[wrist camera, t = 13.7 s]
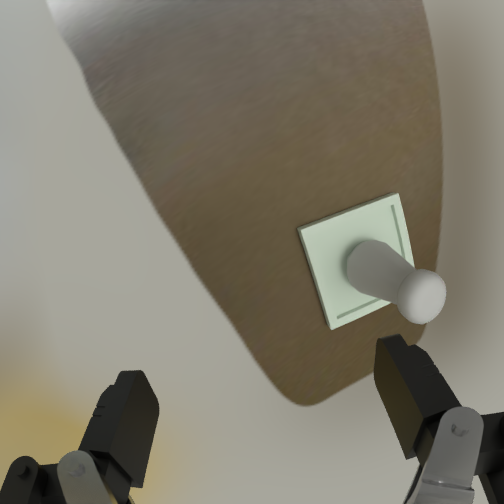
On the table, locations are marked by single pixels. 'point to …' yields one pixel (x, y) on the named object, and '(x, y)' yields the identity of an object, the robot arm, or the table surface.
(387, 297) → the salt shaker
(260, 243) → the table surface
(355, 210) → the tray
